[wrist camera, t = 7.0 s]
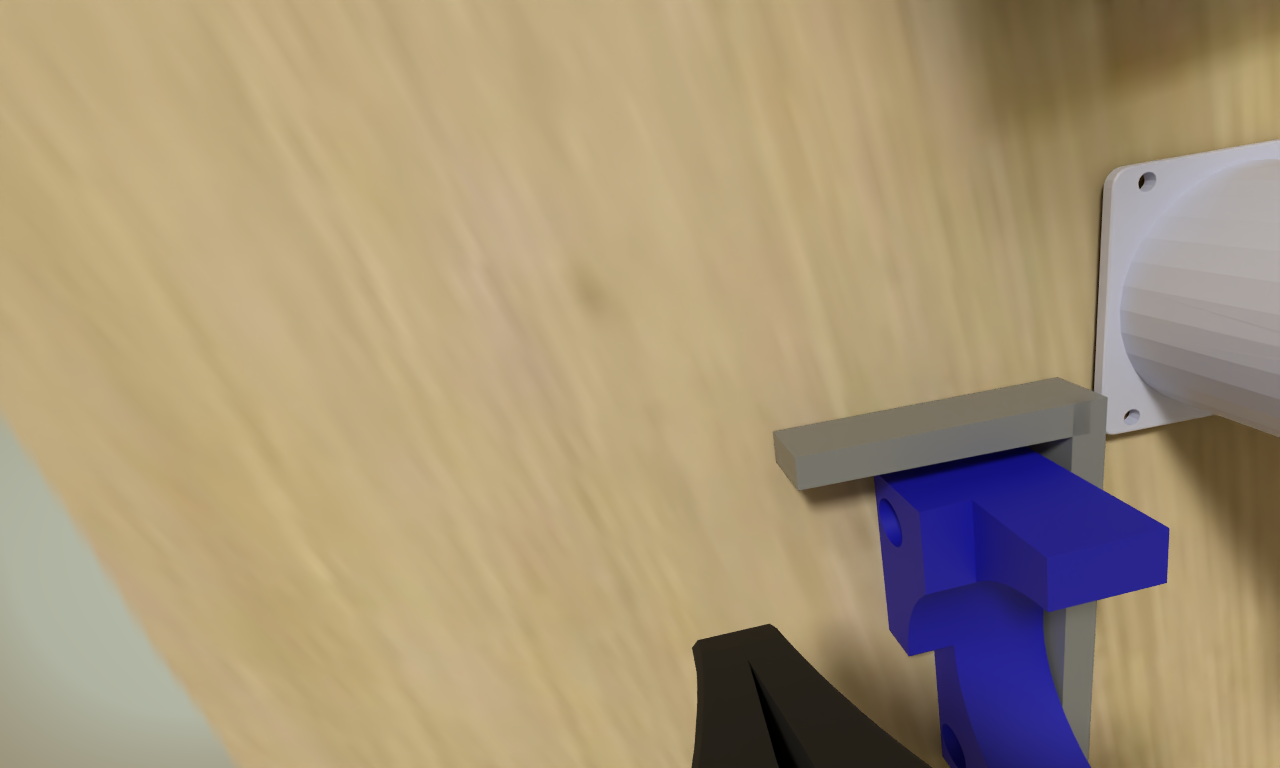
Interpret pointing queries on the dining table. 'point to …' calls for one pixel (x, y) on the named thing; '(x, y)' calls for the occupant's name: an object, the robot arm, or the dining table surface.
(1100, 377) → the robot arm
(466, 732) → the dining table surface
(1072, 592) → the blue plastic bracket
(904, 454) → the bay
